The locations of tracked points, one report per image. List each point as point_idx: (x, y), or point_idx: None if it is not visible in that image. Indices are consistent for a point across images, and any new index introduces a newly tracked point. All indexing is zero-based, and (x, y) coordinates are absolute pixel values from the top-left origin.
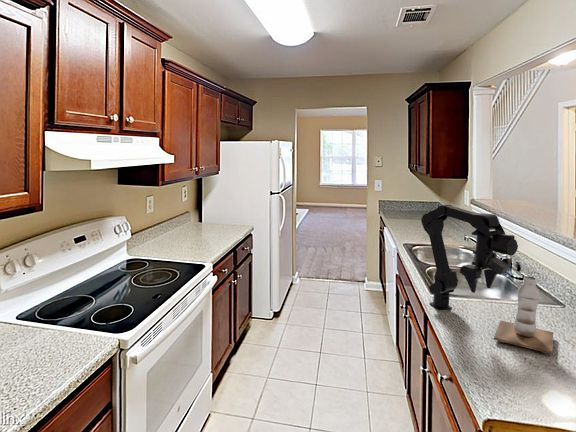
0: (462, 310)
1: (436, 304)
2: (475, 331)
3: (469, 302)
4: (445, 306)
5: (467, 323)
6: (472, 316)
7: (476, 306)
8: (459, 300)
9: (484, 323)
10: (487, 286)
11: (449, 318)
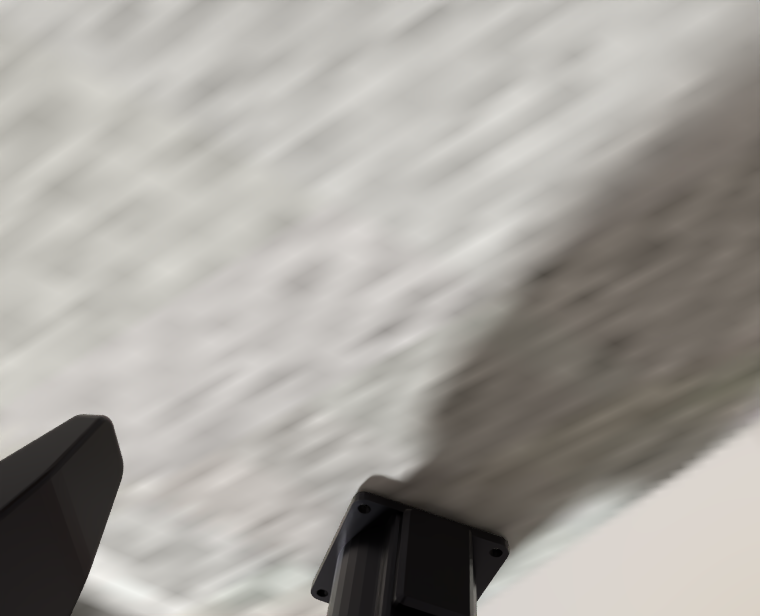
0: (288, 422)
1: (475, 595)
2: (720, 17)
3: None
4: (442, 535)
5: (561, 215)
6: (326, 292)
7: (63, 405)
8: (115, 545)
9: (374, 107)
10: (107, 488)
11: (604, 385)
